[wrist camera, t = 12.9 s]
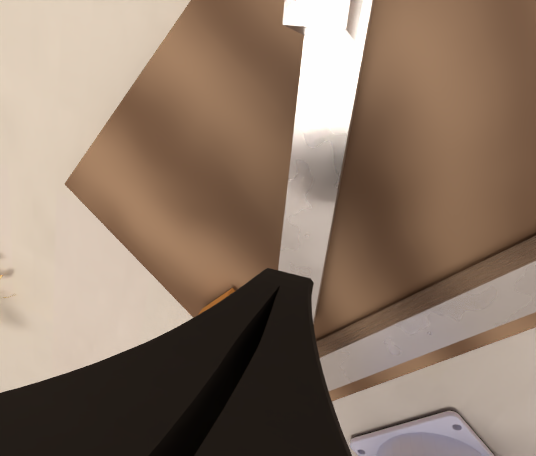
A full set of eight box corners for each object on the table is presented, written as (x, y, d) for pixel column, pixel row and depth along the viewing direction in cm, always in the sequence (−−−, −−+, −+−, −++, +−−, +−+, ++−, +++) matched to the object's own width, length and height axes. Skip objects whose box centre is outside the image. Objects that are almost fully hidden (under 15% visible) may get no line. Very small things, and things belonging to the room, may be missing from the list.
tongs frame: (287, 389, 23) (279, 418, 21) (235, 334, 22) (221, 359, 20) (810, 170, 11) (900, 191, 9) (736, 41, 10) (815, 35, 9)
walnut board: (291, 406, 25) (289, 416, 24) (74, 180, 22) (64, 184, 21) (891, 179, 11) (924, 186, 11) (536, -475, 9) (550, -523, 8)
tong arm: (315, 318, 20) (292, 408, 14) (279, 309, 20) (244, 392, 15) (390, -86, 12) (400, -215, 6) (326, -85, 12) (288, -205, 7)
